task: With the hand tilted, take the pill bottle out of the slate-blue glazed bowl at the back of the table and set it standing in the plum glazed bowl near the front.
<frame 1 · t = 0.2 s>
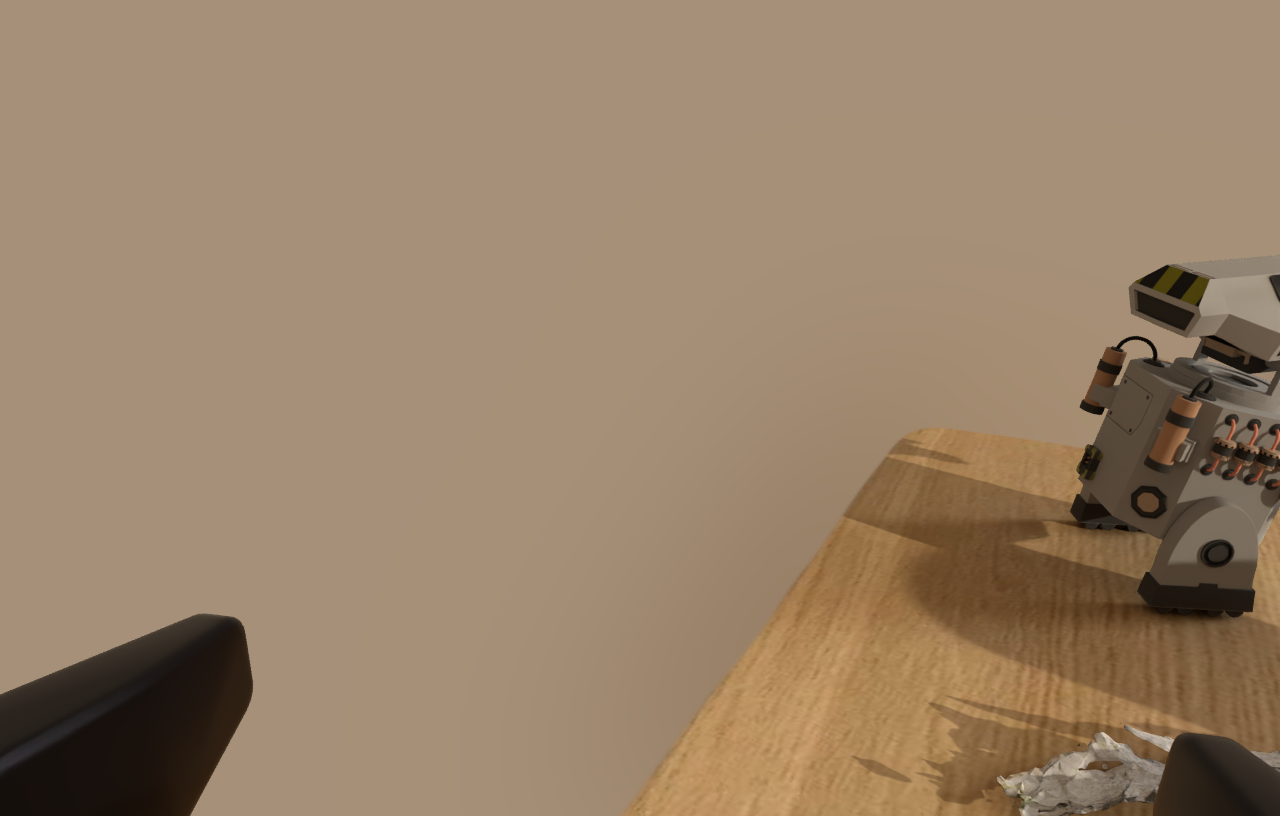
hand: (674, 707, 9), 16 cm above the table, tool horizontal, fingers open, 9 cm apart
figurine: (1192, 570, 43), on the table
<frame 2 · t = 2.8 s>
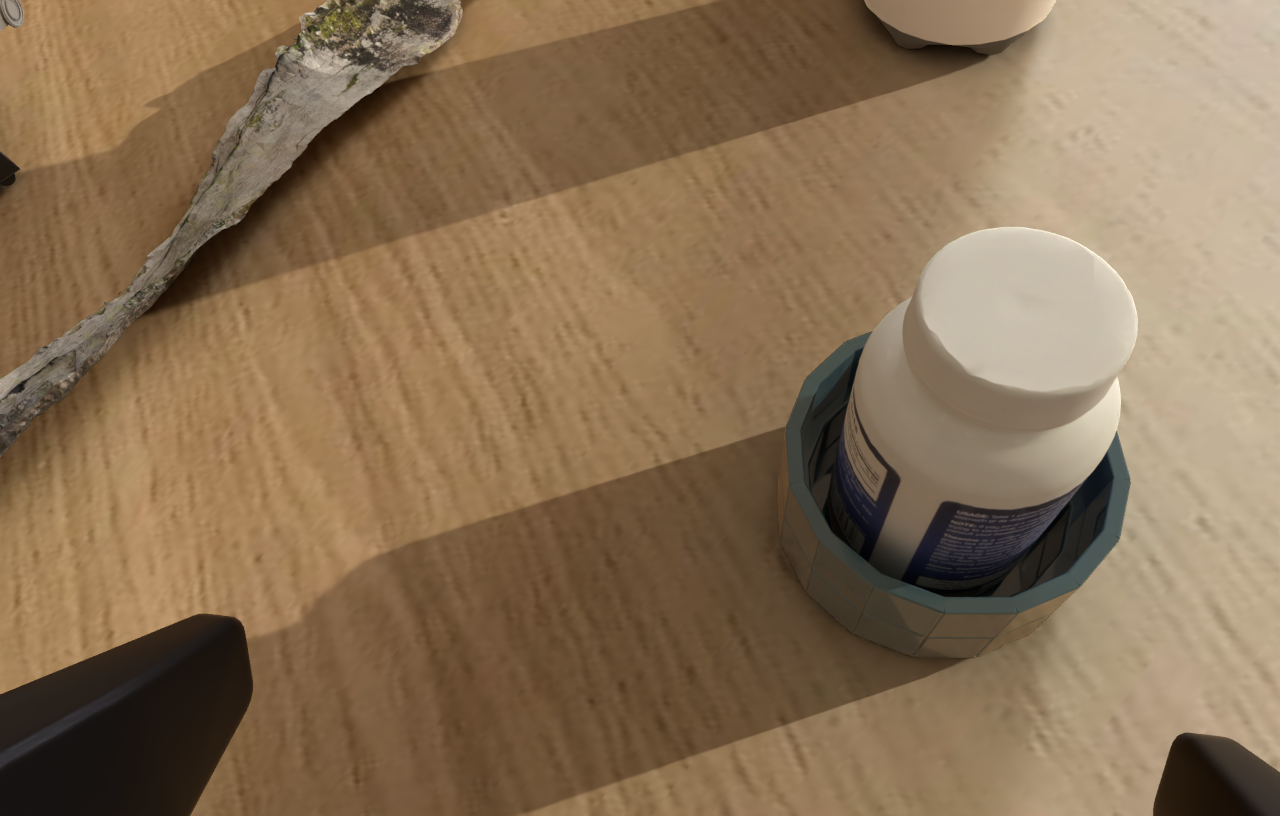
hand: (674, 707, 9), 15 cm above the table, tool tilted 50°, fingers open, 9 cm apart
cup: (950, 7, 36), on the table
driftwood: (228, 217, 33), on the table
pill bottle: (920, 517, 25), resting on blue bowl
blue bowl: (920, 518, 25), on the table
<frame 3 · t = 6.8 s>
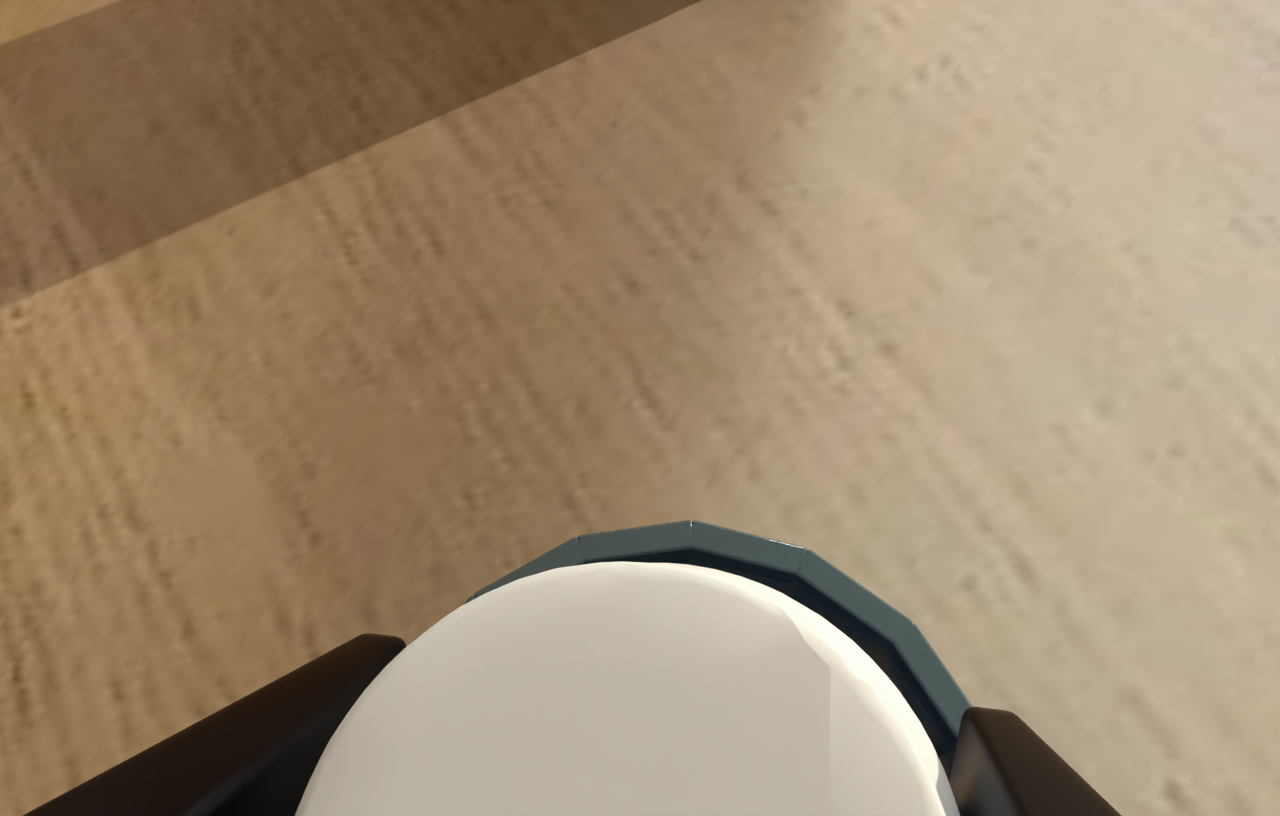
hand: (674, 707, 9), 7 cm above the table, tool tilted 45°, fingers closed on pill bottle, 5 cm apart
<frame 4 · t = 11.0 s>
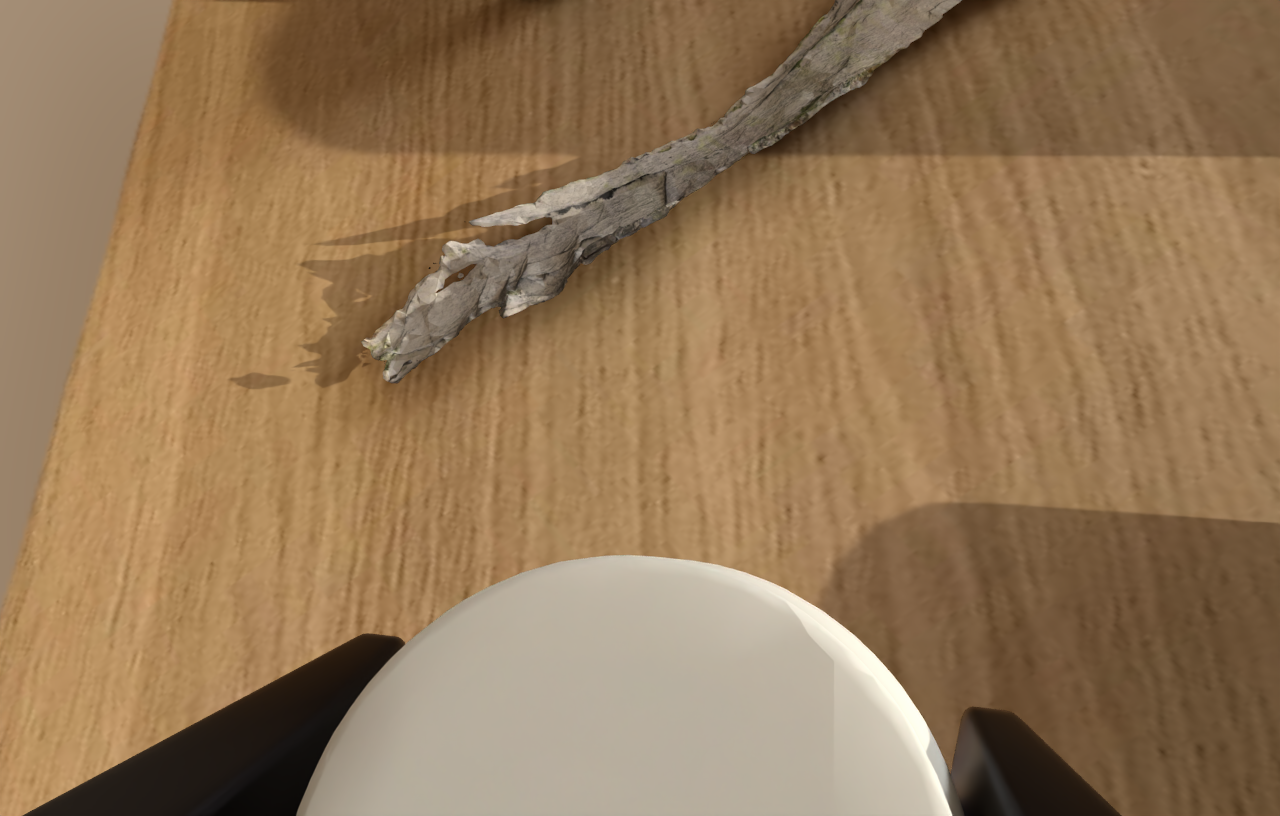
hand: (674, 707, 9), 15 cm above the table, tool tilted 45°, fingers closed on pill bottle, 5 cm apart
driftwood: (827, 70, 31), on the table
when the fingers open (7 cm above the table, at t = 15.4 s): pill bottle stays where it is, resting on plum bowl.
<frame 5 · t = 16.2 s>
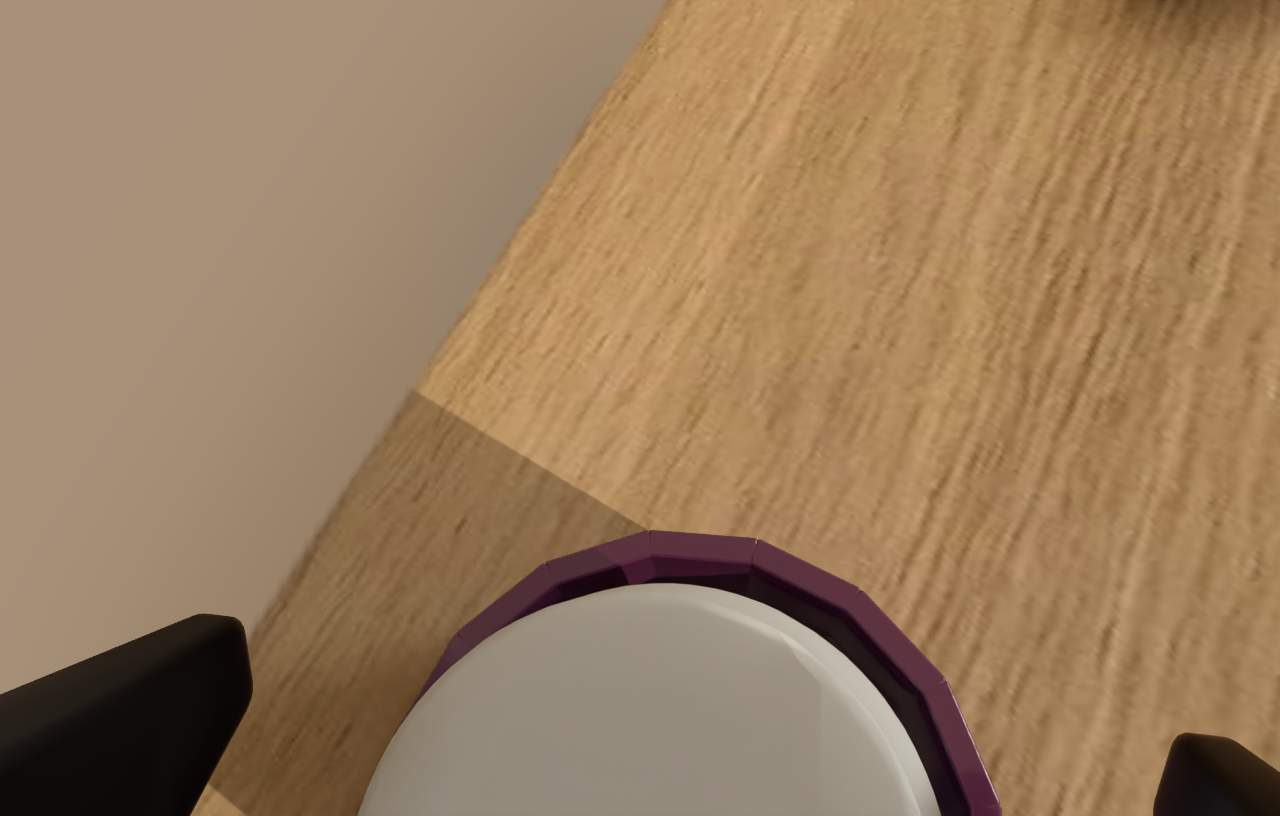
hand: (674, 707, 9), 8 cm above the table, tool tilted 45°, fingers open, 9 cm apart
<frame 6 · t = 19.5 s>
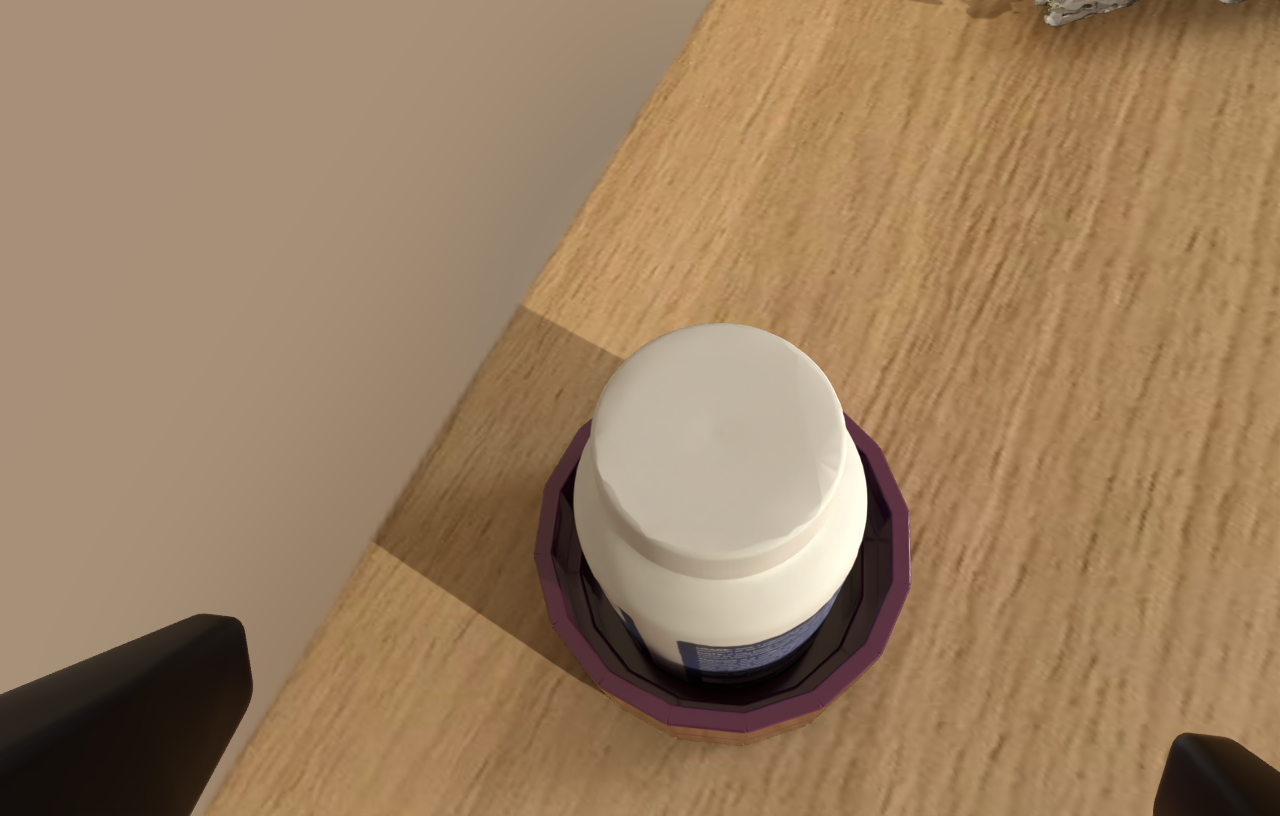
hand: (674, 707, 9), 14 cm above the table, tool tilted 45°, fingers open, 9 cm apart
plum bowl: (721, 577, 23), on the table
pill bottle: (721, 582, 23), resting on plum bowl
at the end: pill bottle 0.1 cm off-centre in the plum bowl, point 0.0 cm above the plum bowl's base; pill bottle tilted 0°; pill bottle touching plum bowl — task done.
